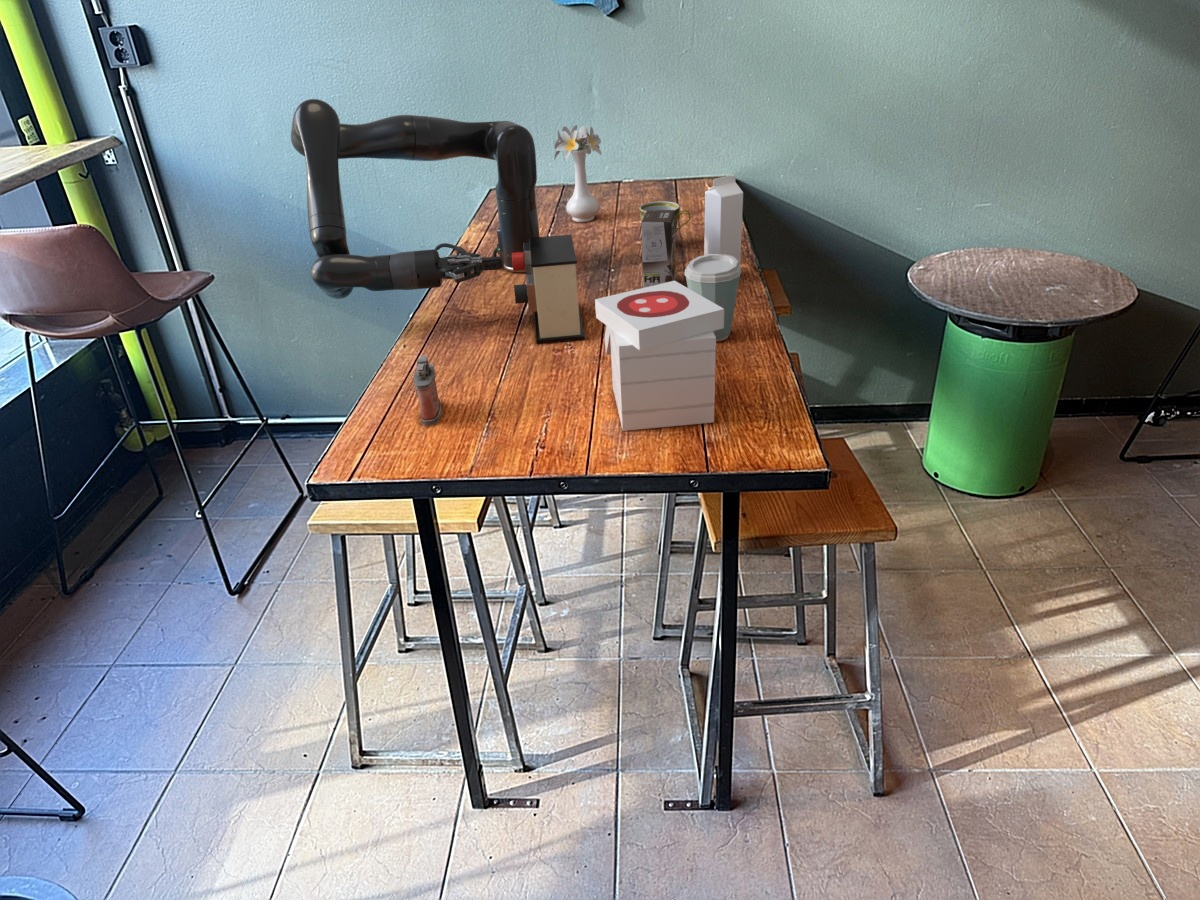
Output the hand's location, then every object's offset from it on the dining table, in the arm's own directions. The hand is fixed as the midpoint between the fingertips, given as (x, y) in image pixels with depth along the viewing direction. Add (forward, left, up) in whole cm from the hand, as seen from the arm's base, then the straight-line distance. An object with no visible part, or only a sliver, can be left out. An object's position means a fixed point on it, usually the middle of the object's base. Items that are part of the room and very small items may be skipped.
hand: (502, 262), depth 167 cm
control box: (+11, +2, -13) cm, 17 cm away
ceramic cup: (+10, +55, -13) cm, 58 cm away
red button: (+3, +2, -2) cm, 4 cm away
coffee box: (+21, +29, -13) cm, 38 cm away
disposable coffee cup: (+42, +9, -13) cm, 45 cm away
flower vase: (-23, +69, -13) cm, 74 cm away
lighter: (+11, -39, -13) cm, 42 cm away
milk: (+31, +41, -13) cm, 53 cm away
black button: (+8, -5, -5) cm, 11 cm away
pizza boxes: (+42, -16, -13) cm, 47 cm away
